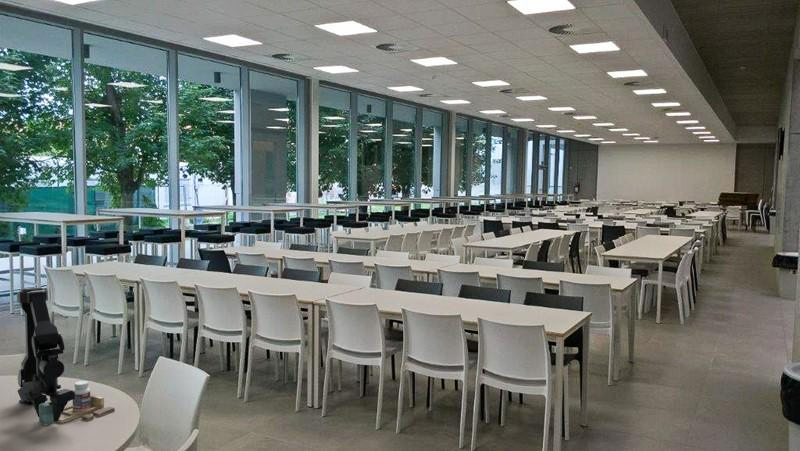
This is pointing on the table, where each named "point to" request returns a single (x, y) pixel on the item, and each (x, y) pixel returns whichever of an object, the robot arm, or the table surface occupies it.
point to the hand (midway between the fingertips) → (48, 419)
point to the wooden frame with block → (68, 411)
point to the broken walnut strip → (98, 413)
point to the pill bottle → (81, 396)
